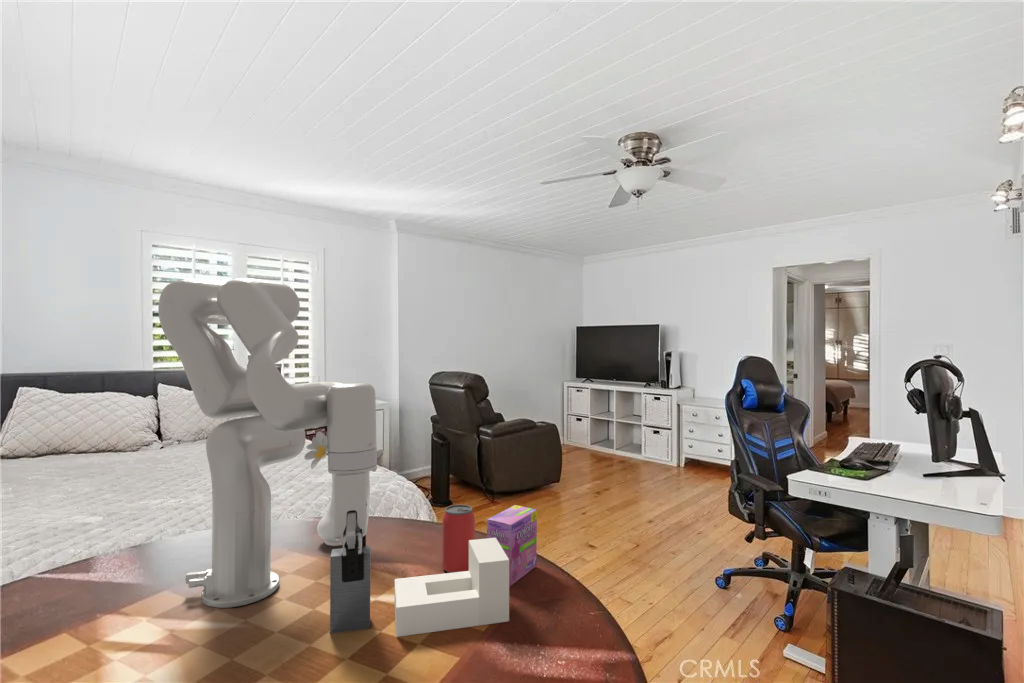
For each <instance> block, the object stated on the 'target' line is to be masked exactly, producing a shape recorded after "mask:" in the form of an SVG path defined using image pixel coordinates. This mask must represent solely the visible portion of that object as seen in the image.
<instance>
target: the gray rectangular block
mask: <svg viewBox="0 0 1024 683" xmlns="http://www.w3.org/2000/svg"><path fill="white" fill-rule="evenodd" d="M371 551H372V550H371V545H366V546H362V552H364V579H363V580H360V581H352V582H345V583H344V582H342V559H341V556H342V554H343V547H342V548H333V549H331V553H330V562H329V564H330V568H329V570H330V572H329V574H330V575H329V579H330V582H329V586H330V587H329V591H330V592H329V596H330V597H329V603H330V604H329V634H330V635H331V634H339V633H347V632H355V631H363V630H369V629H371V569H372V567H371V563H372V562H371V557H372V556H371V555H372V554H371V553H372V552H371Z"/></svg>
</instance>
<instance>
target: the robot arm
mask: <svg viewBox="0 0 1024 683" xmlns="http://www.w3.org/2000/svg"><path fill="white" fill-rule="evenodd" d="M157 307H158V308H157V309H158V318H159V319H158V320H159V323H160V327H161V329H162V331H163V334H164V336H165V337H166V339H167V341H168V342H169V344H170V346H171V347H172V348H173V350H174V352H175V353H176V355H177V356H178V358H179V359H180V361H181V364H182V367H183V369H184V372H185V375H186V378H187V380H188V381H189V382H188V383H189V384H190V388H191V390H192V393H193V394H194V397H195V400H196V402H197V405H198V407H199V409H200V410H201V413H203V414H204V416H206V417H208V418H211V419H218V420H219V419H230V418H234V419H230V420H227V421H223V422H222V423H221V422H220V424H218V425H216V426H215V427H214V428H213V429H212V430H211V431H210V433H209V434H208V436H207V439H206V443H205V444H206V445H205V451H206V456H207V461H208V466H209V472H210V478H211V479H210V480H211V493H212V494H211V499H212V500H211V501H212V503H211V504H212V505H211V506H212V507H211V509H212V510H211V511H212V512H211V513H212V517H211V518H212V519H211V521H212V522H211V525H212V526H211V527H212V528H211V531H212V532H211V539H212V540H211V568H206V570H205V571H204V570H203V571H199V570H198V571H188V572H187V573H186V576H185V584H186V585H187V584H188V589H191V588H198V587H202V588H203V589H202V592H201V598H200V599H201V602H202V603H203V604H204V605H206V606H208V607H212V608H218V609H219V608H220V609H225V608H233V607H234V608H236V607H241V606H246V605H249V604H252V603H256V602H259V601H261V600H264V599H265V598H267V597H268V596H270V595H272V594H273V593H275V591H277V589H278V588H279V586H280V580H281V578H280V576H279V575H278V574H277V573H276V572H274V571H271V566H272V565H271V562H272V560H271V559H272V558H271V554H272V552H271V551H272V550H271V548H272V547H271V546H272V542H271V541H272V540H271V539H272V492H271V488H270V487H271V486H270V484H269V482H268V481H267V479H266V478H265V477H264V475H263V474H262V472H261V469H260V468H263V467H266V466H269V465H274V464H278V463H279V464H280V463H282V462H286V461H289V460H292V459H295V458H296V457H297V456H299V455H300V454H301V453H302V451H303V450H304V448H305V445H306V432H305V431H306V430H309V429H315V428H316V429H317V428H322V427H327V428H326V429H327V430H326V431H327V435H326V436H327V438H328V456H327V472H328V473H329V474H331V475H332V474H335V481H334V538H335V539H336V540H338V538H341V537H342V535H343V545H342V548H343V554H342V556H341V559H342V582H344V583H345V582H352V581H360V580H363V579H364V552H362V546H367V532H368V531H367V530H368V525H369V524H368V523H369V515H370V496H371V495H370V494H371V493H370V482H371V481H370V472H373V471H372V470H374V469H376V468H377V469H378V458H377V451H378V449H377V412H376V410H377V407H376V406H377V405H376V403H377V402H376V400H377V399H376V398H377V397H376V390H375V388H374V386H373V385H371V384H369V383H365V382H357V383H356V382H354V383H353V382H351V383H349V382H347V383H342V382H337V381H319V382H318V381H317V382H315V381H313V382H303V383H289V382H288V381H287V380H286V379H285V377H284V376H283V375H282V374H281V371H280V370H279V369H278V367H277V366H276V364H277V363H278V362H281V361H282V360H284V359H285V358H287V357H288V356H289V355H290V354H291V353H293V351H294V350H295V349H296V347H297V345H298V343H299V333H298V331H297V330H296V327H294V325H293V324H292V323H293V322H295V321H296V319H297V318H298V315H299V313H300V308H301V304H300V300H299V296H298V295H297V293H296V292H295V290H294V289H293V288H292V287H290V286H289V285H287V284H286V283H282V282H276V281H270V280H264V279H256V278H248V277H247V278H246V277H243V278H242V277H239V278H235V279H234V278H233V279H231V280H229V281H226V282H225V281H224V282H223V281H216V280H210V279H209V280H206V279H201V278H200V279H197V278H186V279H183V278H182V279H178V280H174V281H171V282H170V283H168V284H167V285H165V286H164V288H163V289H162V291H161V293H160V296H159V300H158V306H157ZM208 325H224V326H225V325H230V327H231V329H233V331H234V333H236V335H237V336H238V338H239V339H240V341H241V343H242V345H243V346H244V347H245V348H246V350H247V351H248V353H249V355H250V356H249V359H248V361H247V364H246V367H243V366H242V365H240V364H238V362H237V360H236V358H235V356H234V353H233V350H232V349H231V347H230V345H229V344H228V343H227V342H226V341H225V339H224V338H223V337H221V335H219V334H218V333H217V332H216V331H214V329H212V328H210V327H209V326H208ZM247 416H248V417H247ZM238 417H239V418H238ZM377 469H376V470H377ZM346 531H347V532H346Z"/></svg>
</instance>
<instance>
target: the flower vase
mask: <svg viewBox="0 0 1024 683" xmlns="http://www.w3.org/2000/svg"><path fill="white" fill-rule="evenodd" d="M306 449H307V450H309V451H308V452H307V453H305V455H304V460H306V461H309V460H312V462H310V469H311V470H313V469H314V468H315V467H316V466H317V464H319V462H320V461H321V460H323V459H325V458H326V457H328V435H325V434H324V433H323V432H322V431H318V432H316V433H315V436H313V437H312V440H311V443H310V444H307V445H306ZM383 452H384V450H383V449H377V459H378V458H379V457H380V456H382V454H383ZM377 469H378V467H377V468H376V469H374V470H372V471H371V472H376V471H377ZM334 481H335V474H331V482H332V483H331V497H330V504H329V507H328V510H326V513H325V514H324V515H323V516H322V517H321V519H320V520H319V522H318V524H317V526H316V527H317V528H316V531H317V535H318V536H319V537H320V538H321V539H323V540H324V541H323V542H324V544H325V545H326V546H329V547H339V546H340V547H341V546H343V535H342V537H341V538H338V540H336V539H335V538H334ZM346 532H347V531H346Z"/></svg>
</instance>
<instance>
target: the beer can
mask: <svg viewBox="0 0 1024 683" xmlns="http://www.w3.org/2000/svg"><path fill="white" fill-rule="evenodd" d="M444 511H445V512H444V514H443V517H442V569H443V570H444V571H445V572H447V573H454V572H463V571H469V540H476V518H475V515H474V514H475V513H474V511H473V507H471V506H470V505H467V504H453V505H449V506H447V507H445V509H444Z"/></svg>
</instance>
